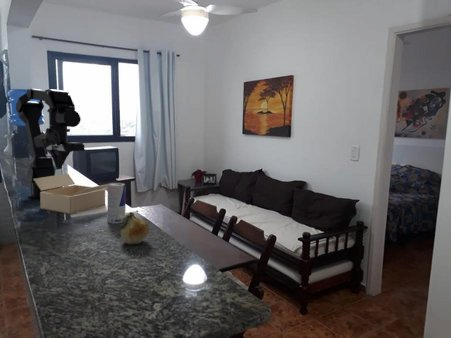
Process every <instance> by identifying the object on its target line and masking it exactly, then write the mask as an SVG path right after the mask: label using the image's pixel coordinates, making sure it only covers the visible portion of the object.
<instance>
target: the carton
mask: <svg viewBox="0 0 451 338" xmlns="http://www.w3.org/2000/svg"><path fill="white" fill-rule="evenodd" d="M91 187H92V186H88V185H87V186H86V185H79V184H73V185H68V186H63V187H58V188H52V189H50V190H47V191H41V192H40V201H39V202H40V203H39V204H40V207H39V208H40V209H41V210H45V211H50V212H57V213H62V214H67V215H75V214H79V213H82V212H86V211H88V210H91V209H95V208H98V207H102V206H104V205H106V188H105V189H100V190H96V191H92V192H87V193H83V194H79V195H74V194H76V193H77V192H79V191H81V190H83V189H86V188H91ZM73 195H74V196H73Z"/></svg>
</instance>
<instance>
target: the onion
mask: <svg viewBox="0 0 451 338" xmlns="http://www.w3.org/2000/svg"><path fill="white" fill-rule="evenodd" d="M118 218H119V219H120V221H122V222H123V223H124V224H123V223H122V225H121V227H120V237H121V240H122V241H123V242H124V243H126V244H127V245H136V244H141V243H142V242H143V241H144V240H145V239H146V238H147V237H148V235H149V234H150V230H151V229H150V226H149V223H148V222H147V221H146V220H144V219H142V218H139V217H136V215H135V212H132V211H130V212H129V213H126V214H125V217H123V216H121V215H120V216H119V217H118Z"/></svg>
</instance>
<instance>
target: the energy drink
mask: <svg viewBox="0 0 451 338" xmlns="http://www.w3.org/2000/svg"><path fill="white" fill-rule="evenodd" d="M108 184H109V183H108ZM126 187H127V186H126V184H125V183H123V182H110V184H109V185H108V187H107V223H109V224H114V225H117V224H118V225H119V224H123V223H124V222H122V221H120V219H119V218H118V217H119V216H120V215H121V216H123V217H125V216H126V202H127V201H126V200H127V199H126V198H127V197H126V196H127V195H126V194H127V191H126Z"/></svg>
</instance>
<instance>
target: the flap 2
mask: <svg viewBox="0 0 451 338" xmlns="http://www.w3.org/2000/svg"><path fill="white" fill-rule="evenodd" d="M110 183H111V182H110ZM110 183H105V184H100V185H96V186H90V187H91V188H86V189H83V190H81V191H79V192H77V193H76V194H74V195H79V194H83V193H87V192H92V191H96V190H100V189H105V190H106V188H108V185H109V184H110ZM74 195H73V196H74Z"/></svg>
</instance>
